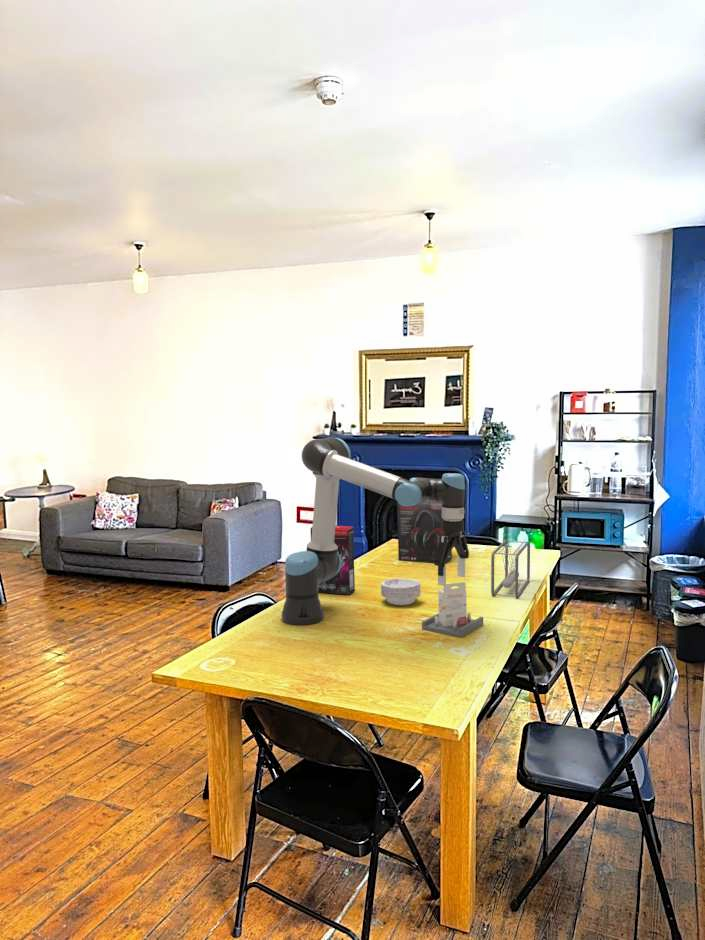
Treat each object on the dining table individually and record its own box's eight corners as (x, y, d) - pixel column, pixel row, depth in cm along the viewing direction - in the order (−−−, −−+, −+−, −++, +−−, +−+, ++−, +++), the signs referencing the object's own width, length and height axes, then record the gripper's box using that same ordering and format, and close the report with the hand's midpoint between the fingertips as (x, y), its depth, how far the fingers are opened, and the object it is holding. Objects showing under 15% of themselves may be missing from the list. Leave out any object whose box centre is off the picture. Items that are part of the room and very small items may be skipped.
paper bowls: (392, 595, 279) (392, 575, 278) (426, 600, 271) (426, 580, 270) (374, 604, 266) (373, 584, 265) (409, 610, 258) (409, 589, 257)
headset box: (396, 560, 340) (396, 493, 336) (404, 555, 351) (404, 490, 348) (446, 564, 330) (445, 495, 327) (452, 558, 342) (452, 492, 339)
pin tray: (461, 637, 227) (461, 625, 227) (422, 629, 236) (421, 617, 236) (483, 624, 240) (483, 612, 240) (445, 617, 249) (445, 605, 249)
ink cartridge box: (461, 620, 241) (461, 578, 240) (467, 624, 237) (467, 582, 235) (438, 622, 239) (437, 580, 238) (443, 627, 234) (443, 584, 233)
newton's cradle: (517, 599, 270) (518, 554, 268) (490, 597, 274) (491, 552, 273) (529, 581, 298) (530, 540, 296) (505, 579, 302) (505, 538, 300)
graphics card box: (310, 592, 284) (309, 527, 282) (317, 588, 291) (315, 524, 288) (350, 595, 279) (348, 529, 276) (355, 591, 285) (354, 526, 283)
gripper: (444, 525, 222) (443, 590, 225) (479, 515, 242) (478, 575, 244) (424, 523, 227) (423, 586, 229) (460, 513, 247) (459, 571, 249)
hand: (451, 580), depth 237 cm, fingers open, 13 cm apart
